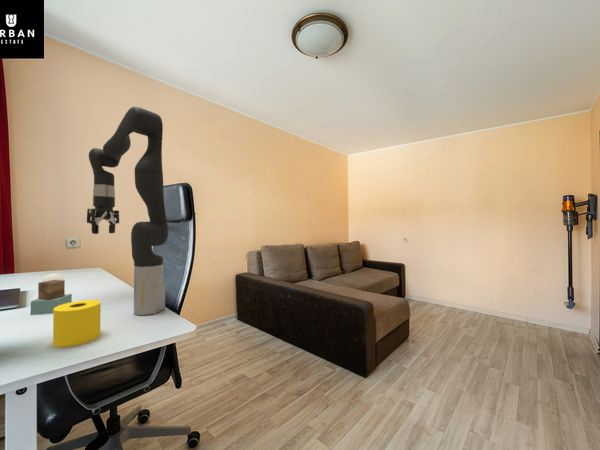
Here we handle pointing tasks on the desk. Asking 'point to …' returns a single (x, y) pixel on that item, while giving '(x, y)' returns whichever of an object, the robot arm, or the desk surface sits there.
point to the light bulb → (53, 277)
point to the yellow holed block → (76, 323)
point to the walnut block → (51, 289)
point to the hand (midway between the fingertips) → (103, 233)
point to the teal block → (48, 304)
